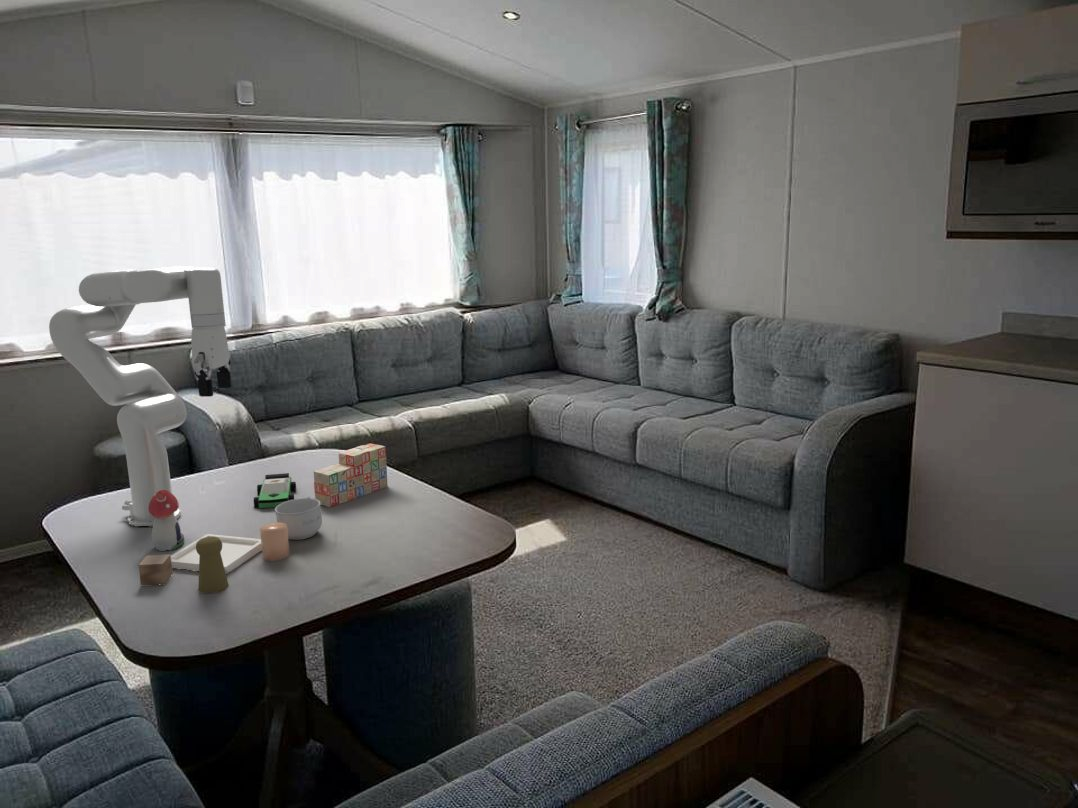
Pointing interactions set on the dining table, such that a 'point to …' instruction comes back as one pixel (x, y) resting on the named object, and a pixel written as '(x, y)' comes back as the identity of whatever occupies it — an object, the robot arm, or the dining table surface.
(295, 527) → the teacup
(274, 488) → the toy car
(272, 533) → the peach rounded cylinder
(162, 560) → the walnut block
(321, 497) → the stack of blocks
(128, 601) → the dining table surface
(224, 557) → the tray
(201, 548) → the cork
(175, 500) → the decorative ornament
